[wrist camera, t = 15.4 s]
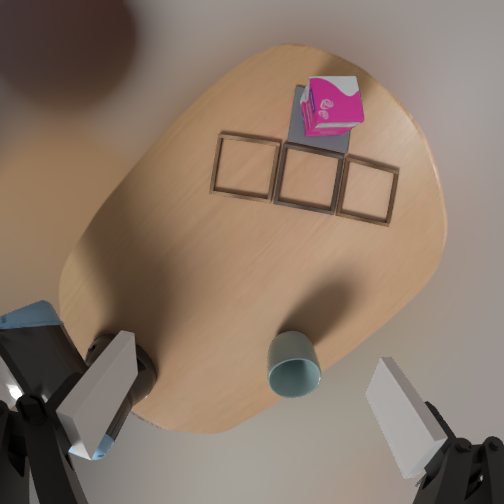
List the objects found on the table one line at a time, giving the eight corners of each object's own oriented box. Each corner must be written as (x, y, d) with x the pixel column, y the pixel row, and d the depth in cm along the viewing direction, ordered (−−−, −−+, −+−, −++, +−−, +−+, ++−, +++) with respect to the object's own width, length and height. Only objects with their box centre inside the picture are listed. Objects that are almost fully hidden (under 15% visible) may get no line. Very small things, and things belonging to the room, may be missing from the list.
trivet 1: (209, 193, 41) (209, 193, 41) (219, 134, 39) (218, 134, 39) (270, 203, 41) (270, 203, 41) (280, 143, 39) (280, 142, 39)
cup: (307, 319, 46) (317, 351, 36) (315, 355, 47) (325, 391, 37) (262, 329, 46) (261, 364, 37) (272, 365, 48) (274, 402, 38)
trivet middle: (273, 203, 41) (273, 203, 41) (283, 144, 39) (283, 143, 39) (332, 214, 41) (333, 215, 41) (342, 156, 39) (343, 156, 39)
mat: (287, 141, 39) (287, 141, 39) (295, 86, 37) (296, 86, 37) (345, 154, 39) (346, 153, 39) (352, 100, 37) (353, 99, 37)
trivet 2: (335, 215, 41) (336, 215, 41) (345, 157, 39) (346, 156, 39) (387, 226, 41) (388, 227, 41) (397, 171, 39) (398, 171, 39)
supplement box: (297, 101, 37) (309, 74, 26) (336, 100, 37) (359, 74, 26) (303, 138, 39) (317, 121, 27) (341, 136, 38) (368, 121, 27)
